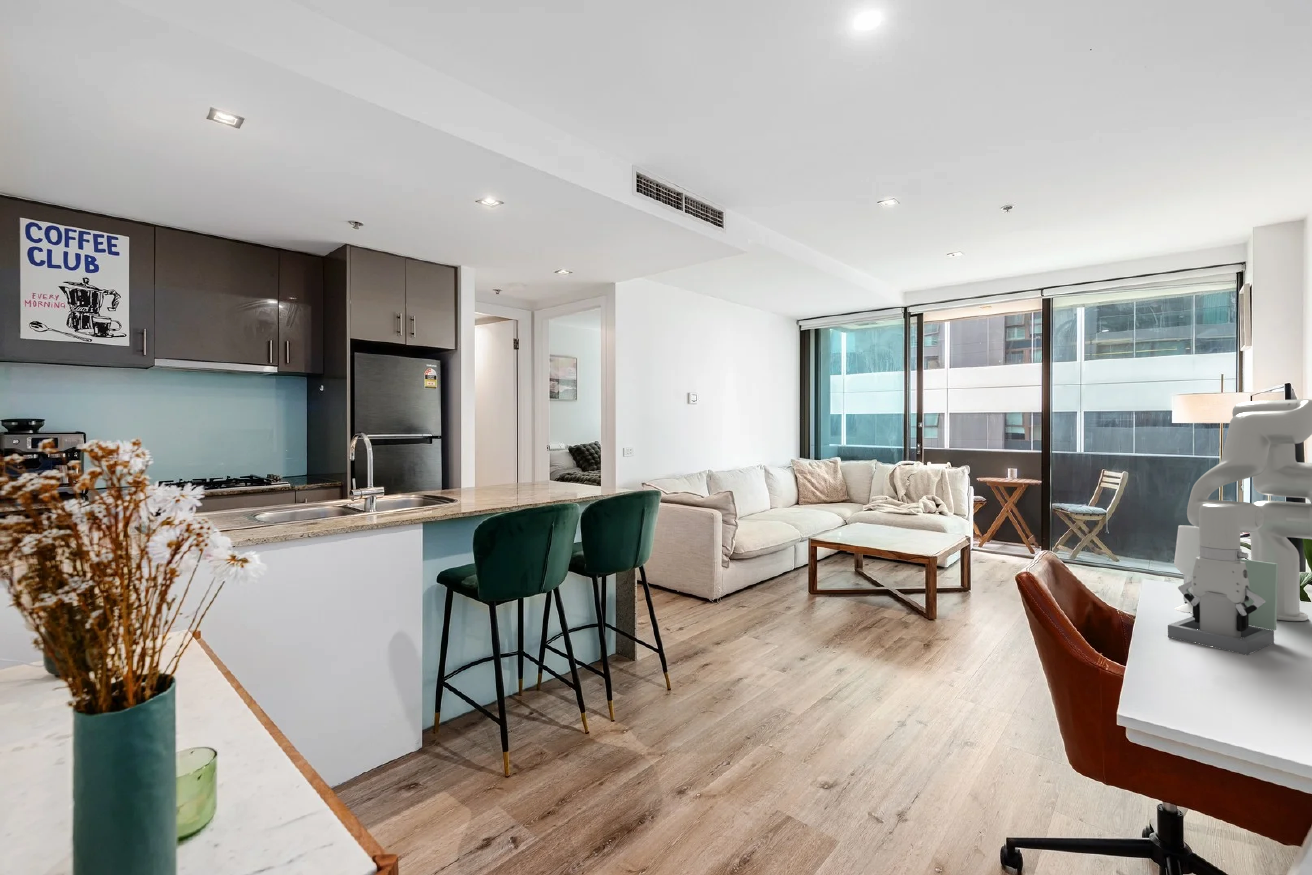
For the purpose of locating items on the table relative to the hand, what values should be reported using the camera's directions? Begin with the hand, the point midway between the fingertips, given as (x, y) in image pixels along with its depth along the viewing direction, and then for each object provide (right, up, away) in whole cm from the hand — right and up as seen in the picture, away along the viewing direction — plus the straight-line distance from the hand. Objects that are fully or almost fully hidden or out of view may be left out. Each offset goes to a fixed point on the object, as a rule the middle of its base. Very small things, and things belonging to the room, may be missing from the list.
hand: (1220, 625), depth 153 cm
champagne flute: (+14, -3, +25) cm, 29 cm away
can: (0, -4, 0) cm, 4 cm away
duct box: (0, -3, 0) cm, 3 cm away
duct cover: (+8, +8, +4) cm, 12 cm away
